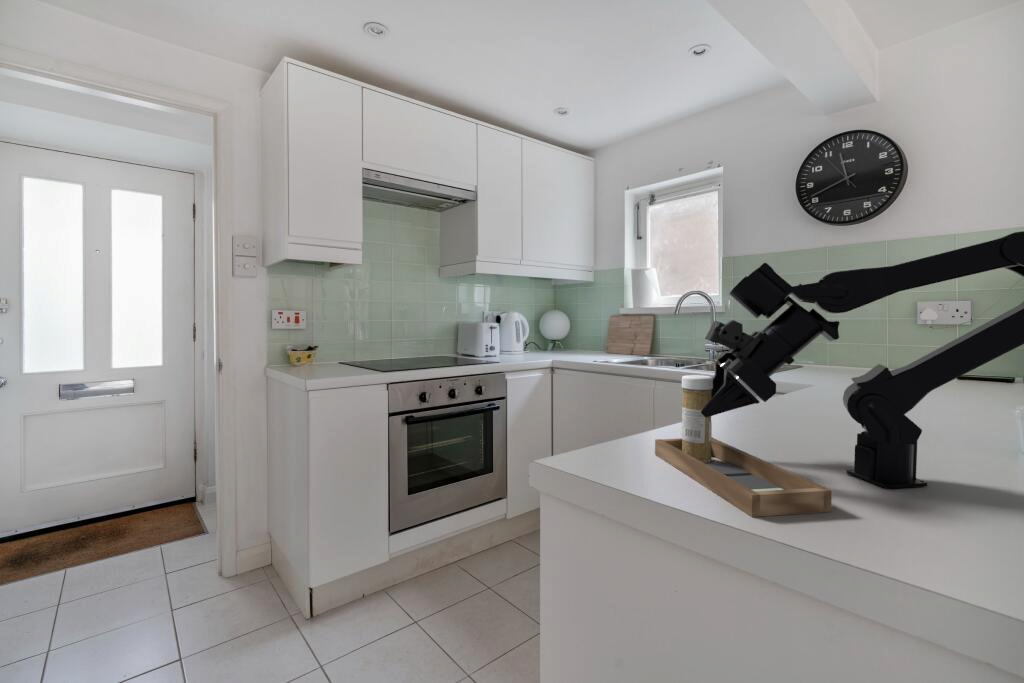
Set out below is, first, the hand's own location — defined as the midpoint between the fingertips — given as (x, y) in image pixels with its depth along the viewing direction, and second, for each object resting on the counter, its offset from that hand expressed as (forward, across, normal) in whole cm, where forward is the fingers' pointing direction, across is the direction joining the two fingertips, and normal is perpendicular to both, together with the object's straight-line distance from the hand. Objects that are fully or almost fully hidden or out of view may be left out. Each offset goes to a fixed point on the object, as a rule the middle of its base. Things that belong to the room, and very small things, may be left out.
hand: (700, 409), depth 74 cm
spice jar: (+6, 0, +6) cm, 8 cm away
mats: (+4, +8, +8) cm, 12 cm away
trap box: (+4, +8, +8) cm, 12 cm away
